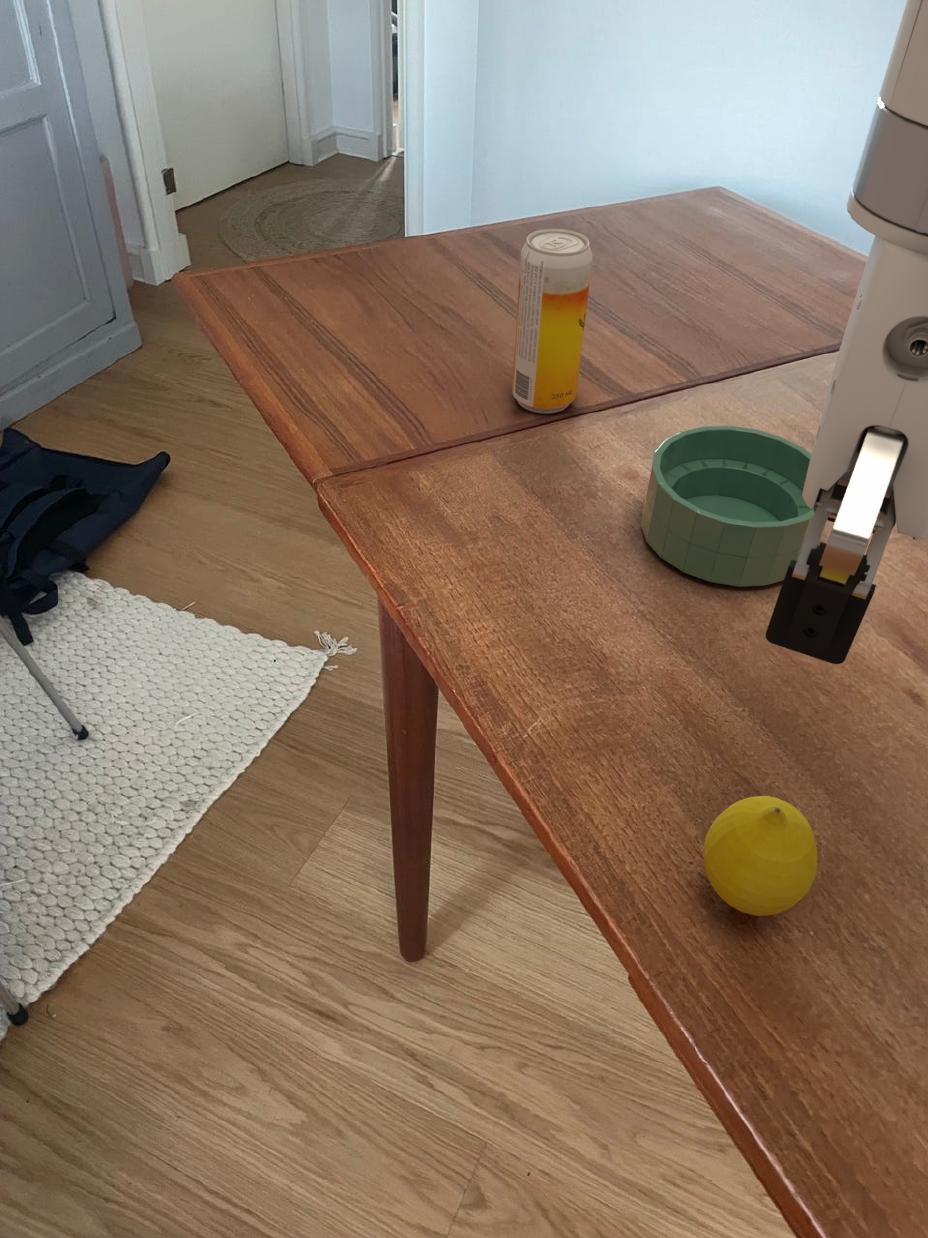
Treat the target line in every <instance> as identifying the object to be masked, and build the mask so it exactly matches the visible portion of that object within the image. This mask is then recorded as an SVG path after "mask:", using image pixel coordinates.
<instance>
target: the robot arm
mask: <svg viewBox="0 0 928 1238" xmlns="http://www.w3.org/2000/svg"><path fill="white" fill-rule="evenodd" d="M865 138H866V139H865V141H864V145H863V148H862V151H861V155H860V159H859V161H858V165H857V169H856V172H855V175H854V179H853V182H852V186H851V189H850V192H849V196H848V199H847V201H846V210H847V211H846V212H847V213H848V214H849V215H850V218H851V219H852V220H853V221H854V222H855V223H856V224H857V225H858V226H859V227H861V228H862V229H863V230H865V231H867V232H868V233H870V234H872V235H874V238H873V241H872V244H871V247H870V249H869V254H868V257H867V260H866V263H865V266H864V269H863V272H862V275H861V278H860V281H859V284H858V288H857V292H856V294H855V296H854V297H855V298H854V301H853V304H852V306H851V311H850V314H849V316H848V320H847V323H846V327H845V330H844V334H843V337H842V341H841V343H840V347H839V350H838V353H837V357H836V360H835V364H834V366H833V367H834V368H833V371H832V374H831V378H830V382H829V385H828V388H827V393H826V396H825V399H824V403H823V408H822V411H821V415H820V419H819V423H818V426H817V430H816V434H815V439H814V444H813V447H812V451H811V454H812V455H811V459H810V463H809V467H808V471H807V476H806V480H805V484H804V489H803V493H802V497H803V499H804V501H805V503H806V504H807V506H808V507H809V508H810V509H811V510H813V509H814V507H815V509H814V516H813V518H812V521H811V524H810V527H809V529H808V532H807V535H806V538H805V541H804V543H803V546H802V549H801V552H800V554H799V557H798V560H797V561H796V560H792V559H791V561H790V564H789V566H788V569H787V572H786V575H785V578H784V580H783V581H782V584H781V588H780V590H779V593H778V596H777V599H776V601H775V605H774V608H773V610H772V614H771V617H770V620H769V622H768V625H767V629H766V631H765V636H764V637H765V639H766V640H767V642H769V643H770V644H772V645H775V646H778V647H781V648H784V649H786V650H789V651H793V652H797V653H799V654H802V655H804V656H808V657H811V658H814V659H817V660H821V661H823V662H826V663H830V664H833V665H841V664H843V663H844V662H845V661H846V658H847V656H848V654H849V652H850V649H851V647H852V645H853V643H854V640H855V638H856V636H857V633H858V631H859V629H860V627H861V624H862V622H863V619H864V617H865V615H866V612H867V610H868V608H869V605H870V603H871V601H872V598H873V596H874V594H875V591H876V587H877V584H876V583H875V584H874V580H875V577H876V574H877V571H878V569H879V566H880V563H881V560H882V558H883V556H884V553H885V550H886V548H887V544H888V542H889V539H890V536H891V533H892V530H893V529H894V528H895V526H896V529H897V533H898V534H900V535H903V536H908V537H912V540H914V541H918V542H920V541H923V540H925V539H928V0H906V4H905V6H904V10H903V14H902V17H901V20H900V23H899V27H898V30H897V32H896V36H895V40H894V43H893V47H892V50H891V54H890V56H889V60H888V64H887V66H886V70H885V73H884V77H883V80H882V84H881V88H880V91H879V96H878V98H877V101H876V104H875V108H874V111H873V115H872V117H871V121H870V124H869V128H868V131H867V134H866V137H865ZM815 505H816V506H815ZM827 521H828V522H832V523H833V524H832V528H831V530H830V533H829V536H828V538H827V541H826V542H823V541H821V537H822V535H823V533H824V530H825V527H826V525H827V523H828V522H827Z"/></svg>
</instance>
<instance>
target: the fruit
mask: <svg viewBox="0 0 928 1238" xmlns="http://www.w3.org/2000/svg"><path fill="white" fill-rule="evenodd" d="M816 840H817V839H816V835H815V833H814V831H813V829H812V827H811V825H810V823H809V821H808V819H807V817H806V816H804V814H803V813H802V812H801V811H800V810H799V809H798V808H797V807H795V806H793V804H791V803H790V802H787V801H786V800H783V799H781V798H778V797H774V796H769V795H755V796H749V797H746V798H743V799H740V800H737V801H736V802H734V803H732V804H730V805H729V806H728V807H727V808H726V809H724V810H723V811H722V812H721V813H720V814H719V815H718V816H717V817H716V818H715V819H714V821H713V822H712V824H711V826H710V827H709V829H708V831H707V833H706V835H705V838H704V843H703V853H702V855H703V869H704V871H705V874H706V876H707V878H708V881H709V884H710V885H711V887H712V888H713V890H714V891H715V892H716V894H717V895H718V896H719V897H720V898H721V899H722V901H724V902H725V903H726V904H727V905H728V906H729V907H731V908H734V909H735V910H738V911H739V912H741V913H744V914H748V915H752V916H755V917H756V916H758V917H759V916H774V915H778V914H780V913H783V912H785V911H788V910H790V909H792V908H793V907H794V906H796V905H797V904H798V903H799V902H800V901H801V900H802V899H803V898H804V897H805V896H806V895H807V894H809V892H810V890H811V887H812V885H813V883H814V881H815V878H816V876H817V872H818V848H817V841H816Z"/></svg>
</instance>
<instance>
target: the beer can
mask: <svg viewBox="0 0 928 1238" xmlns="http://www.w3.org/2000/svg"><path fill="white" fill-rule="evenodd" d="M593 257H594V255H593V252H592V249H591V246H590V240H589V238H588V237H587V236H585V235H584V234H582V233H580V232H577V231H574V230H570V229H563V228H545V229H539V230H536V231H533V232H531V233H529V234H528V236H527V237H526V241H525V243H524V245H523V246H522V248H521V251H520V261H519V273H518V275H519V276H518V289H517V290H518V291H517V292H518V293H517V304H516V306H517V307H516V320H515V337H514V351H513V367H512V368H513V370H512V382H511V393H512V396H513V398H514V399H515V400H516V401H517V403H518V405H519V406H521V408H522V409H525V410H527V411H530V412H532V413H538V414H556V413H560V412H562V411H564V410H565V409H567V408H568V407H569V406H570V404H571V403H573V402H574V401H575V399H577V398H576V397H577V393H578V384H579V376H580V375H579V374H580V367H581V361H582V360H581V359H582V351H583V350H582V349H583V341H584V333H585V326H586V325H585V324H586V316H587V308H588V301H589V300H588V299H589V292H590V283H591V275H592V274H591V273H592V266H593Z"/></svg>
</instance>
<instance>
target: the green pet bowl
mask: <svg viewBox="0 0 928 1238" xmlns="http://www.w3.org/2000/svg"><path fill="white" fill-rule="evenodd" d="M811 455H812V453H811V452H809V451H808V450H807V449H806V448H804V447H802V446H801V445H799V444H796V443H795V442H792V441H790V440H788V439H787V438H785V437H782V436H779V435H776V434H774V433H771V432H767V431H763V430H760V429H755V428H748V427H742V426H735V425H704V426H700V427H694V428H690V429H687V430H682V431H680V432H678V433H675V434H674V435H672V436H669V437H668V438H666V439H664V440H663V441H662V443H661V444H660V445H659V446H658V448H657V449H656V450H654V452H653V456H652V462H651V466H650V472H649V477H648V481H647V486H646V487H647V488H646V493H645V498H644V504H643V509H642V514H641V520H640V521H641V522H640V527H641V531H642V533H643V535H644V539H645V541H646V543H647V544H648V545H649V547H651V549H652V550H653V551H654V552H655V553H656V555H658V557H660V558H661V560H664V561H665V562H667V563H668V564H670V565H672V566H673V567H674V568H676V569H678V570H679V571H681V572H683V573H685V574H687V575H689V576H692V577H696V578H698V579H701V580H703V581H706V582H710V583H715V584H720V585H727V586H732V587H733V586H734V587H739V588H740V587H759V586H761V587H762V586H769V585H772V584H775V583H779V582H783V581H784V578H785V575H786V572H787V569H788V566H789V564H790V561H791V559H792V560H796V561H797V560H798V557H799V554H800V552H801V549H802V546H803V543H804V541H805V538H806V535H807V532H808V529H809V527H810V524H811V521H812V518H813V516H814V509H815V507H814V509H813V510H811V509H810V508H809V507H808V506H807V504H806V503H805V501H804V499H803V497H802V493H803V489H804V484H805V480H806V476H807V471H808V467H809V463H810V459H811ZM815 506H816V505H815Z"/></svg>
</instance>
